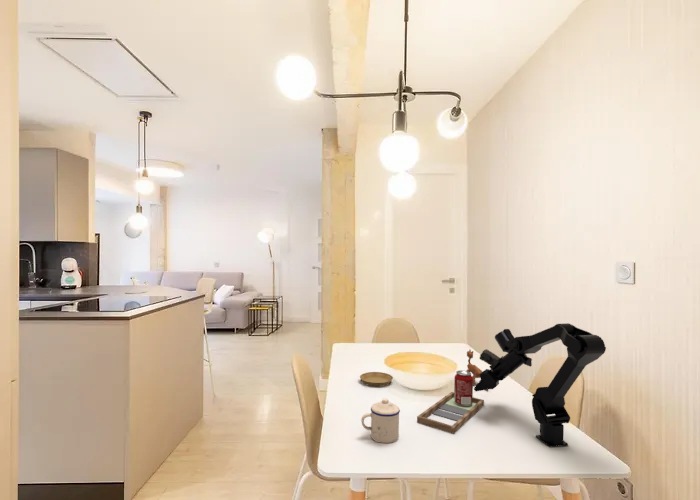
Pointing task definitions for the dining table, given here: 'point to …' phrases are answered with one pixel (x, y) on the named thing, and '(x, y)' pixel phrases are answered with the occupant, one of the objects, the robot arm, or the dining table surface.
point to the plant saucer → (376, 378)
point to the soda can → (463, 388)
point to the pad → (452, 403)
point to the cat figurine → (473, 367)
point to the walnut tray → (442, 426)
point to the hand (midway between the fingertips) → (478, 386)
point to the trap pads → (450, 415)
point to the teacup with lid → (383, 421)
